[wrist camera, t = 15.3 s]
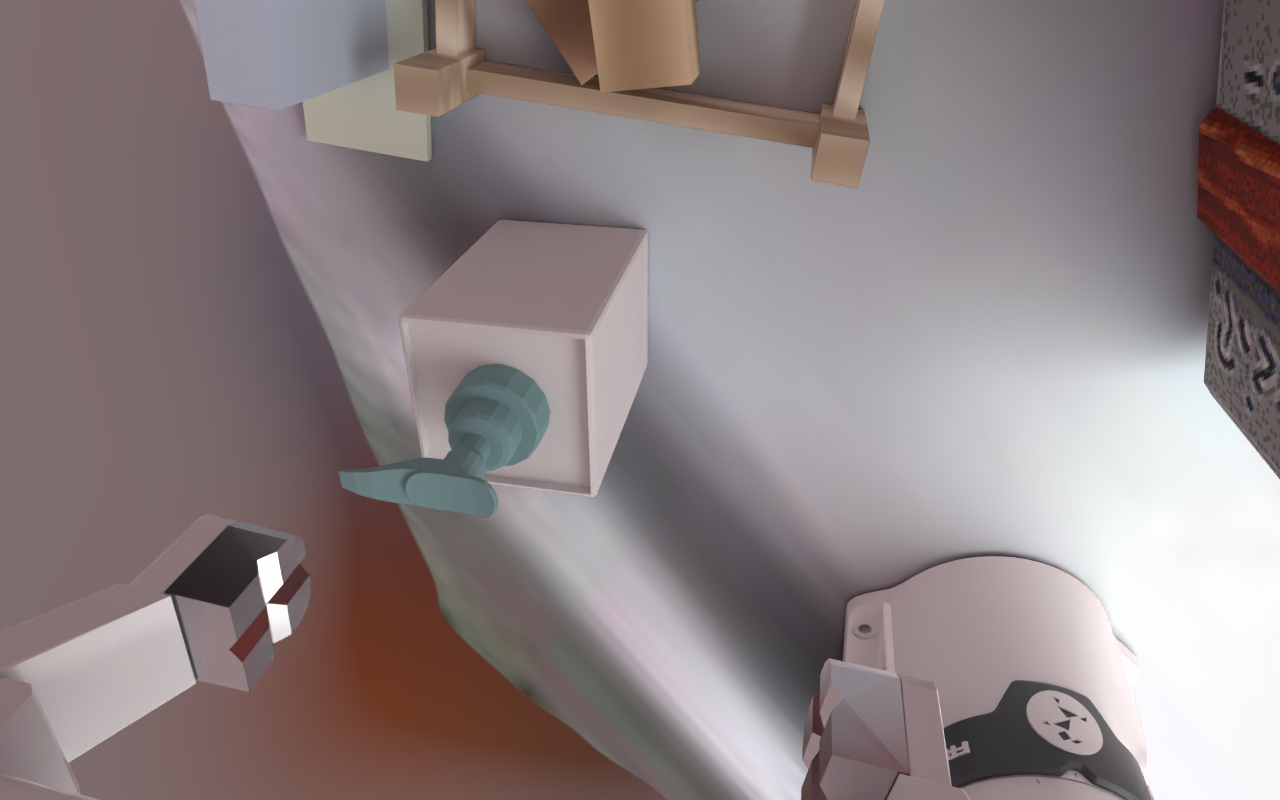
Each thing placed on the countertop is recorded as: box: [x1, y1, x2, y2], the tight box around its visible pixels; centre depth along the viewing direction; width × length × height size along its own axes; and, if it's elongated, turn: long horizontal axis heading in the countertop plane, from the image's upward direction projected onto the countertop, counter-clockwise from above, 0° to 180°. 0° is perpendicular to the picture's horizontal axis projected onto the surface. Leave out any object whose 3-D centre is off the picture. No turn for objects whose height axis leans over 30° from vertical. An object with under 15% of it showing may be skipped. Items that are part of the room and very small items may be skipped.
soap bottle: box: [339, 220, 648, 517], centre depth 39 cm, size 9×9×19 cm
